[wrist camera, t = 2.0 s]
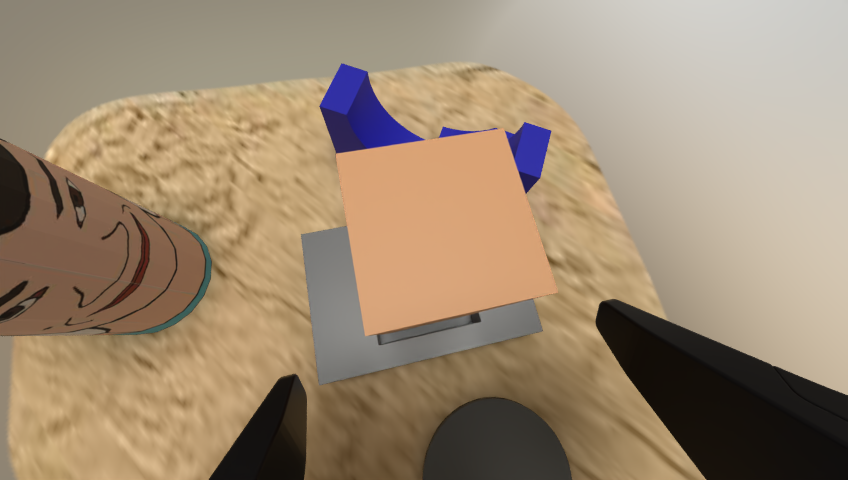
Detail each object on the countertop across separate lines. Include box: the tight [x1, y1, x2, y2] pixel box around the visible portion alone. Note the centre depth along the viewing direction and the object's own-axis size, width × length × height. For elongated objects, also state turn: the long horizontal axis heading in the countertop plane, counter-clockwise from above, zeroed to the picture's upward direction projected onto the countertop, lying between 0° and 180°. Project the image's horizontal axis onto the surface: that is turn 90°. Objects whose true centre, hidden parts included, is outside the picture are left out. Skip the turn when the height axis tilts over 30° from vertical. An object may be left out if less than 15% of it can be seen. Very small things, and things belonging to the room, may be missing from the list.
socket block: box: [301, 226, 543, 385], centre depth 18 cm, size 8×12×2 cm, turn 103°
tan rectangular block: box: [336, 128, 558, 336], centre depth 13 cm, size 5×5×12 cm
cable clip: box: [320, 64, 551, 193], centre depth 20 cm, size 12×4×6 cm, turn 72°
